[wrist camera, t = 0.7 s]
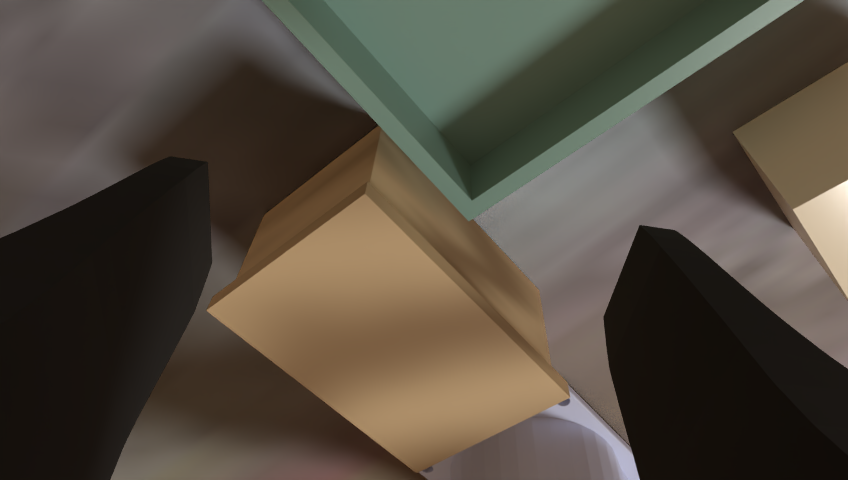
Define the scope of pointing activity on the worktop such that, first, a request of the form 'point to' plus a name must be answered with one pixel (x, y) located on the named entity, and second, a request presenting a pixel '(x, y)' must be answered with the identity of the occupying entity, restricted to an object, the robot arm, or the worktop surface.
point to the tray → (511, 73)
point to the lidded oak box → (394, 308)
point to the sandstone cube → (808, 166)
